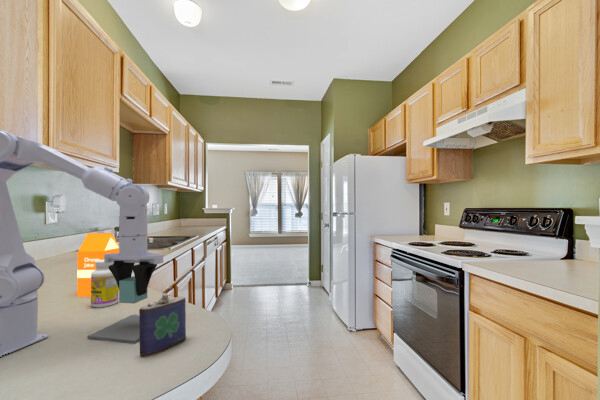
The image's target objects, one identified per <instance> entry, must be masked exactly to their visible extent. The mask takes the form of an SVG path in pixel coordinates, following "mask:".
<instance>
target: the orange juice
mask: <svg viewBox="0 0 600 400" xmlns="http://www.w3.org/2000/svg"><path fill="white" fill-rule="evenodd" d="M109 253H119V243H118V242H117V239H116V238H115V236H114V234H113V233H112V232H105V233H104V232H103V233H102V232H101V233H100V232H98V233H95V232H93V233H91V232H90V233H87V234H86V235H85V238H84V240H83V242H82V243H81V244H80V247H79V249H78V251H77V271H76V272H77V273H76V277H77V278H76V279H77V287H76V288H77V289H76V290H77V292H76V293H77V295H76V296H77V297H78V298H79V297H81V298H82V297H87V298H88V297H90V298H91V273H92V272H93V271H94V270H96V266H95V262H96V261H99V260H104V254H109ZM118 291H119V288H118Z"/></svg>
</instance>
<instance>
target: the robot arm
mask: <svg viewBox="0 0 600 400" xmlns="http://www.w3.org/2000/svg"><path fill="white" fill-rule="evenodd" d="M35 164H36V165H47V166H51V167H52V168H54V169H57V170H59V171H61V172H63V173H66V174H68V175H70V176H73V177H76V178H77V179H80V180H81V183H82V184H83V187H84V188H85V189H87V190H89V191H91V192H93V193H95V194H97V195H99V196H101V197H103V198H106V199H108V200H110V201H112V202H116V204H117V205H118V207H119V217H118V220H119V221H118V246H119V253H109V254H104V262H105V263H108V262H114V264H113V265H110V266H109V270H110V271H111V273H112V274H113V276H114V277H115V280H116V282H117V285H118V288H119V281H120V280H123V279H126V278H129V277H132V275H134V276H135V280H136V292H137V296H141V295H143V294H145V293H146V292H147V293H148V287H149V283H150V280H151V278H152V275H153V273H154V272H155V269H156V268H157V266H158V265H159V264H163V263H164V254H163V253H161V254H160V253H154V252H153V253H151V252H149V251H148V215H147V214H148V207H147V205H148V204H149V202H150V193H149V191H148V190H147V189H146V188H145V187H143V186H142V185H140V184H134V183H133V179H131V178H127V179H126V178H124V177H123V176H120V175H118V174H116V173H114V171H113V169H112V168H111V167H108V166H105V167H102V166H99V165H98V166H95V167H93V166H92V167H89V166H87V165H85V164H83V163H81V162H80V161H77V160H76V159H74V158H71V156H68V155H66V154H64V153H62V152H60V151H59V150H57V149H55V148H53V147H51V146H48V145H45V144H43V143H40V142H37V141H34V140H32V139H28V138H26V137H23V136H20V135H17V134H15V135H14V134H12V133H10V132H8V131H6V130H4V129H1V128H0V356H1V357H3V356H2V355H4V356H6V355H8V353H9V354H11V353H13V352H16V351H18V350H21V349H23V348H25V347H28V346H29V345H32V344H35V343H36V342H39V341H42V340H44V339H46V338H48V337H49V334H48V333H38V313H39V312H38V308H39V307H38V305H39V296H38V295H39V294H38V290H40V289H41V287H42V286H43V284H44V282H45V273H44V271H43V270H42V269H41V268H40V267H39V266H38V264H37V263H36V260H35V258H34V257H33V256H32V255H30V254H29V253H27V251H26V250H25V246H24V243H23V239H22V236H21V232H20V228H19V224H18V221H17V218H16V214H15V210H14V206H13V203H12V199H11V195H10V193H9V189H8V185H7V181H9V180H10V179H11V178H12V177H13V176H14V175H15V174H16V173H19V172H21V171H23V170H25V169H27V168H28V167H31V166H33V165H35ZM5 354H6V355H5Z"/></svg>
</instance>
